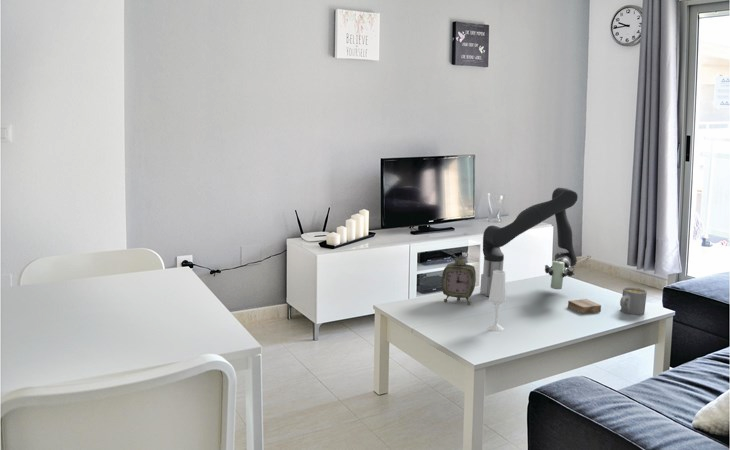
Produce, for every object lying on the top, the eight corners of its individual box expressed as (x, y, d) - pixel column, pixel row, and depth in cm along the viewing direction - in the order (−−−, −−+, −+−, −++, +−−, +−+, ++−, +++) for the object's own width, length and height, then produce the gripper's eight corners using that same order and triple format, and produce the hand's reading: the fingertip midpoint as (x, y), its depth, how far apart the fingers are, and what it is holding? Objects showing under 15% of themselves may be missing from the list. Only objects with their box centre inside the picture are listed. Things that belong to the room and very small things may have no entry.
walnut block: (582, 313, 295) (583, 307, 295) (567, 307, 304) (568, 300, 304) (600, 311, 299) (601, 305, 298) (585, 305, 308) (586, 298, 307)
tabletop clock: (440, 303, 305) (443, 250, 300) (444, 297, 314) (446, 245, 309) (472, 306, 301) (475, 253, 296) (474, 301, 310) (478, 248, 305)
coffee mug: (633, 307, 307) (635, 286, 305) (649, 313, 298) (651, 292, 296) (609, 309, 302) (612, 288, 301) (625, 316, 293) (627, 294, 291)
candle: (555, 289, 303) (558, 262, 300) (548, 286, 307) (551, 259, 305) (564, 288, 305) (567, 261, 302) (557, 285, 309) (559, 259, 307)
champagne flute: (507, 329, 273) (511, 272, 268) (495, 332, 269) (499, 274, 264) (495, 324, 278) (498, 268, 274) (483, 327, 274) (487, 271, 270)
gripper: (547, 256, 320) (541, 264, 304) (578, 260, 314) (574, 268, 299) (545, 271, 321) (540, 280, 306) (576, 276, 316) (572, 284, 300)
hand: (557, 274), depth 302 cm, fingers closed on candle, 5 cm apart
